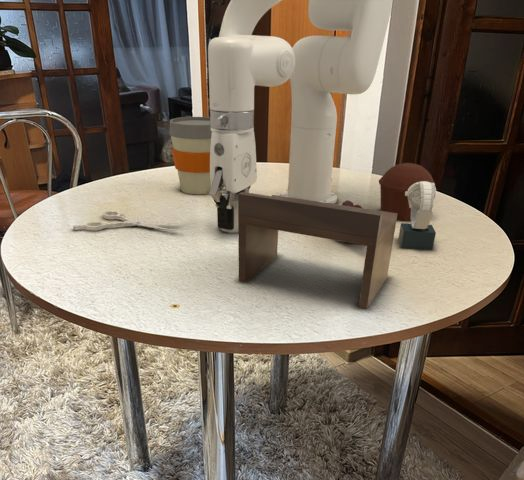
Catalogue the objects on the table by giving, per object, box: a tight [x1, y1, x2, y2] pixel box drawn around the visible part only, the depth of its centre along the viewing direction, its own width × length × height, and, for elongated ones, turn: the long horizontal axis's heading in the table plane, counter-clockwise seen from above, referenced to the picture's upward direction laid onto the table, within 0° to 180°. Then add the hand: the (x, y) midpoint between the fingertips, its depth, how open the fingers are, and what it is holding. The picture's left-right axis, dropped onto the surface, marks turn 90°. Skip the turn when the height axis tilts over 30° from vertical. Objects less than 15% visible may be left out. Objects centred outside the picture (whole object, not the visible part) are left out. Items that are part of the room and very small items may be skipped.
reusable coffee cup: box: [168, 116, 212, 195], centre depth 117 cm, size 13×13×15 cm
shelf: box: [237, 192, 397, 310], centre depth 75 cm, size 12×20×13 cm, turn 65°
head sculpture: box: [397, 181, 437, 251], centre depth 90 cm, size 6×8×11 cm
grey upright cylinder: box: [219, 193, 239, 234], centre depth 96 cm, size 5×5×6 cm
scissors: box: [72, 210, 180, 233], centre depth 97 cm, size 11×1×20 cm
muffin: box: [378, 162, 436, 221], centre depth 105 cm, size 12×11×10 cm
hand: (233, 223), depth 97 cm, fingers closed on grey upright cylinder, 5 cm apart
